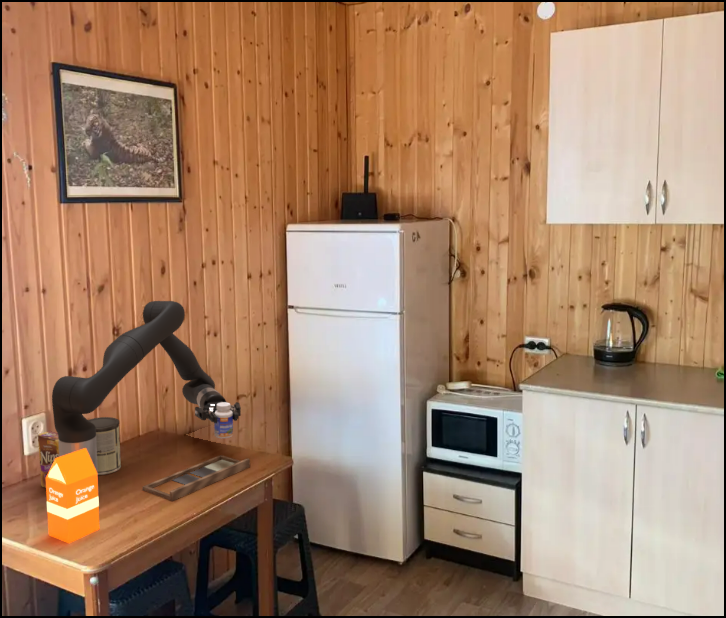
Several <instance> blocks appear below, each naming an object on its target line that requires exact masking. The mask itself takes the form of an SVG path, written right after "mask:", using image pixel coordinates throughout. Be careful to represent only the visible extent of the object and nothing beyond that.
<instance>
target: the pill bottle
mask: <svg viewBox="0 0 726 618" xmlns="http://www.w3.org/2000/svg"><path fill="white" fill-rule="evenodd" d="M230 405H231V403H230V402H227V401H226V402H221V403H218V404H217V411H215V415H216V416H217V423H214V422H213V424H214V425H213V426H214V427H213V428H214V432H213V433H214V434H213V435H214V437H216V438H217V439H228V438H231V437H233V435H234V420H233V412H232V411H231V410H230V408H231V407H230Z"/></svg>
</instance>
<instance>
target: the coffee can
mask: <svg viewBox="0 0 726 618" xmlns="http://www.w3.org/2000/svg"><path fill="white" fill-rule="evenodd" d="M88 420H89V421H90V422H92V423H93V424H94V425H95V427H96V444H97V469H98V476H99V475H101V476H103V475H109V474H112V473H115V472H117V471H119V470H120V469H121V467H122V465H121V464H122V463H121V445H120V444H121V443H120V442H121V441H120V439H121V438H120V436H121V435H120V419H118V418H116V417H109V416H102V417H94V418H90V419H88Z"/></svg>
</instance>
